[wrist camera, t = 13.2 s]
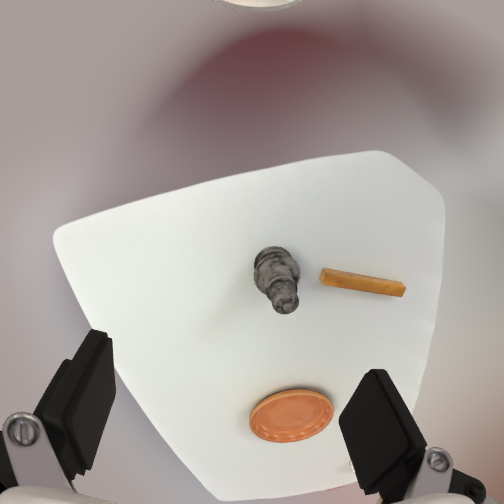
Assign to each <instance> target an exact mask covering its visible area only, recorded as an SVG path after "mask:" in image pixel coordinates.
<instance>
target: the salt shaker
mask: <svg viewBox="0 0 504 504" xmlns="http://www.w3.org/2000/svg"><path fill="white" fill-rule="evenodd" d="M254 268H255V271H254V281H255V285H256V286H257V288H258V289H259V290H260V291H261V292H262V293H264V294H266V295H267V297H268V298H269V300H271V302H272V306H273V308H274V310H275V311H276V312H278V313H280V314H289V313H292V312H293V311H295V310H296V308H297V307H298V305H299V299H298V296H297V284H298V282H299V279H300V269H299V266H298V264H297V262H296V261H295V260H294V259H293V258H292V257H291V255H290V253H289V252H288V251H287V250H285V249H283V248H281V247H277V246H276V247H268V248H266V249H264V250H262V251H261V252H260V253H259V254H258V255H257V257H256V259H255V262H254Z"/></svg>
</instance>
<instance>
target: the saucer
mask: <svg viewBox="0 0 504 504" xmlns="http://www.w3.org/2000/svg"><path fill="white" fill-rule="evenodd" d="M333 413H334V410H333V406H332V404H331V402H330V401H329V399H328V398H327V397H325V396H324V395H322V394H320V393H318V392H314V391H310V390H300V389H299V390H287V391H282V392H279V393H276V394H274V395H272V396H270V397H268V398H266V399H265V400H263V401H262V402H260V403H259V404H258V405H257V406H256V407H255V408H254V409H253V410H252V412H251V414H250V418H249V426H250V429H251V431H252V432H253V433H254V434H255V435H256V436H257V437H259V438H261V439H263V440H266V441H270V442H277V443H288V442H296V441H300V440H304V439H307V438H309V437H312V436H314V435H316V434H317V433H319V432H320V431H322V430H323V429H324V428H325V427H326V426H327V425H328V424H329V423H330V421H331V419H332V417H333Z"/></svg>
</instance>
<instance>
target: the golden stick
mask: <svg viewBox="0 0 504 504" xmlns="http://www.w3.org/2000/svg"><path fill="white" fill-rule="evenodd" d="M320 281H321V282H322V284H323V285H329V286H335V287H341V288H347V289H353V290H359V291H365V292H371V293H378V294H384V295H391V296H397V297H402V296H403V294H404V291H405V289H406V287H405V286H404V285H403V284H402V283H401V282H396V281H391V280H385V279H380V278H374V277H369V276H364V275H358V274H353V273H347V272H342V271H337V270H331V269H326V268H323V270H322V273H321V276H320Z"/></svg>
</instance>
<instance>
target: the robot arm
mask: <svg viewBox="0 0 504 504" xmlns="http://www.w3.org/2000/svg"><path fill="white" fill-rule="evenodd" d="M115 394H116V386H115V374H114V362H113V345H112V338H109V337H108V335H107V333H106V332H102V331H98V330H94V329H91V330H90V331H89V333H88V334H87V336H86V338H85V339H84V341H83V343H82V344H81V346H80V347H79V349H78V351H77V353H76V354H75V356H74V358H73V359H72V360H69V359H66V360H64V361H63V362H62V364H61V365H60V367H59V369H58V370H57V372H56V374H55V375H54V377H53V379H52V380H51V382H50V384H49V386H48V387H47V389H46V391H45V393H44V394H43V396H42V398H41V400H40V402H39V403H38V405H37V407H36V409H35V411H34V413H33V414H31V413H26V412H17V413H14V414H12V415H10V416H9V417H8V418H7V419H6V420H5V422H4V424H3V428H2V431H0V504H117V503H113V502H109V501H105V500H101V499H97V498H94V497H90V496H86V495H83V494H79V493H78V492H77V490H76V488H75V487H74V484H73V483H72V481H71V480H74V479H75V475H76V473H77V474H80V475H83V476H84V474H85V471H86V469H87V470H91V468H92V465H93V461H94V458H95V455H96V452H97V449H98V446H99V443H100V440H101V436H102V433H103V430H104V427H105V424H106V422H107V419H108V416H109V413H110V410H111V407H112V404H113V402H114V399H115ZM339 426H340V429H341V431H342V434H343V437H344V440H345V443H346V446H347V449H348V452H349V455H350V458H351V461H352V464H353V468H354V471H355V474H356V477H357V480H358V483H359V486H360V488H361V489H363V490H364V492H365V495H370V494H375V493H377V492H379V494H380V497H379V499H378V501H377V504H500V503H499V502H497V501H496V500H495V499H494V498H492V497H491V496H490V495H487V496H486V489H485V487H484V485H483V484H482V483H481V481H479V480H478V479H475V478H473V477H471V476H469V475H466V474H464V473H462V472H460V471H458V470H455V469H453V460H452V458H451V456H450V454H449V453H447V451H445V450H443V449H442V448H438V447H432V448H430V449H428V450H427V451H426V450H425V447H426V446H427V443H426V441H425V439H424V437H423V435H422V433H421V432H420V430H419V428H418V426H417V424H416V422H415V421H414V419H413V417H412V415H411V413H410V411H409V410H408V408H407V406H406V404H405V403H404V401H403V399H402V397H401V395H400V394H399V392H398V390H397V388H396V387H395V385H394V383H393V382H392V380H391V378H390V376H389V375H388V373H387V371H386V370H384V369H371V370H369V372H368V373H366V374H365V375H364V376H363V378H362V380H361V382H360V383H359V385H358V387H357V389H356V390H355V392H354V394H353V395H352V397H351V399H350V400H349V402H348V404H347V405H346V407H345V408H344V410H343V411H342V413H341V415H340V417H339Z"/></svg>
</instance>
